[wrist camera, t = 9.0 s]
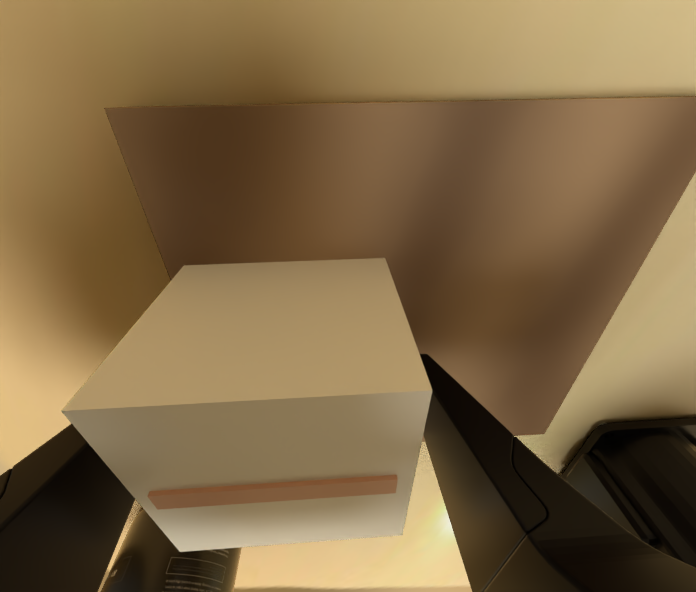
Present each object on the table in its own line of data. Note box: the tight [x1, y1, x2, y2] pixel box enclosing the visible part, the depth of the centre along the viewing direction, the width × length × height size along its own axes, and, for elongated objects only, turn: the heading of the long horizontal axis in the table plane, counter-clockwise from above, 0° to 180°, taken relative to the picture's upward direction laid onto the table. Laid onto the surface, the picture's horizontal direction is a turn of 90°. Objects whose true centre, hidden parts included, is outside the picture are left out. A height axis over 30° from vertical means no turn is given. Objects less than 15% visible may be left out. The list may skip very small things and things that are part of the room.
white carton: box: [62, 258, 432, 552], centre depth 9 cm, size 6×6×5 cm
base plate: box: [104, 96, 696, 442], centre depth 11 cm, size 15×14×1 cm
